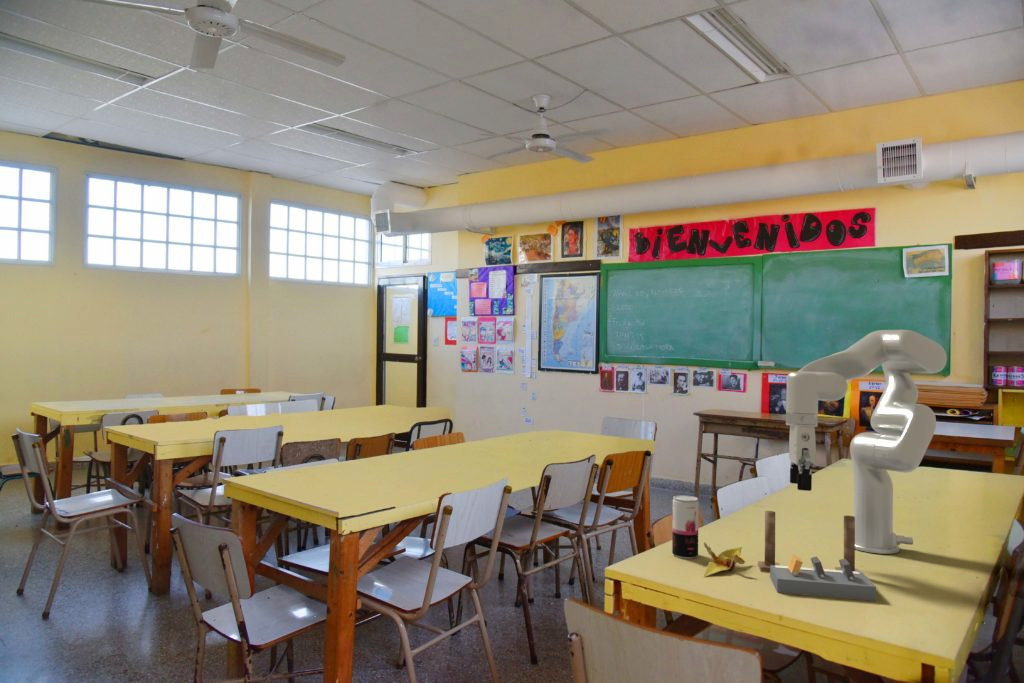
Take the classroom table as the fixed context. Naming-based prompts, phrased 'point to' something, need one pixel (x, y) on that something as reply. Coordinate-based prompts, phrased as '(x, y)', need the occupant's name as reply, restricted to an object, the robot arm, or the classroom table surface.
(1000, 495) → the classroom table surface
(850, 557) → the post right
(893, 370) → the robot arm
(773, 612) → the classroom table surface
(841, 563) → the toggle
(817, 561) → the toggle
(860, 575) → the panel
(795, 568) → the toggle
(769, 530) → the post left
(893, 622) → the classroom table surface
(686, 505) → the beverage can
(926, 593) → the classroom table surface
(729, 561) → the origami crane
